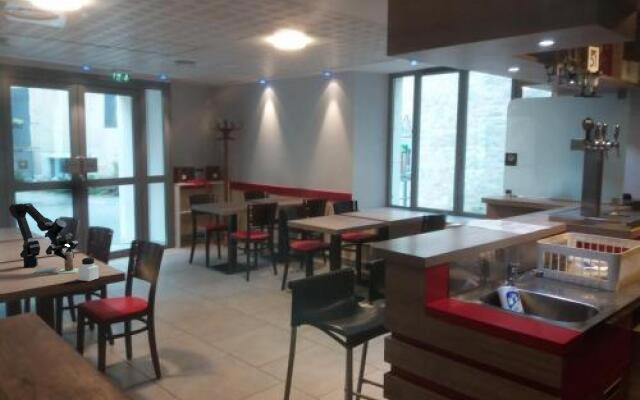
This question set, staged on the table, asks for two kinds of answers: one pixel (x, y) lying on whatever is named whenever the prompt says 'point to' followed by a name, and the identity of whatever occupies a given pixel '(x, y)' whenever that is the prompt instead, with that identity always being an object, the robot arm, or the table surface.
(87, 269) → the medicine bottle
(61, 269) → the sage coaster
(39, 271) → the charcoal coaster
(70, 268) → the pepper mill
